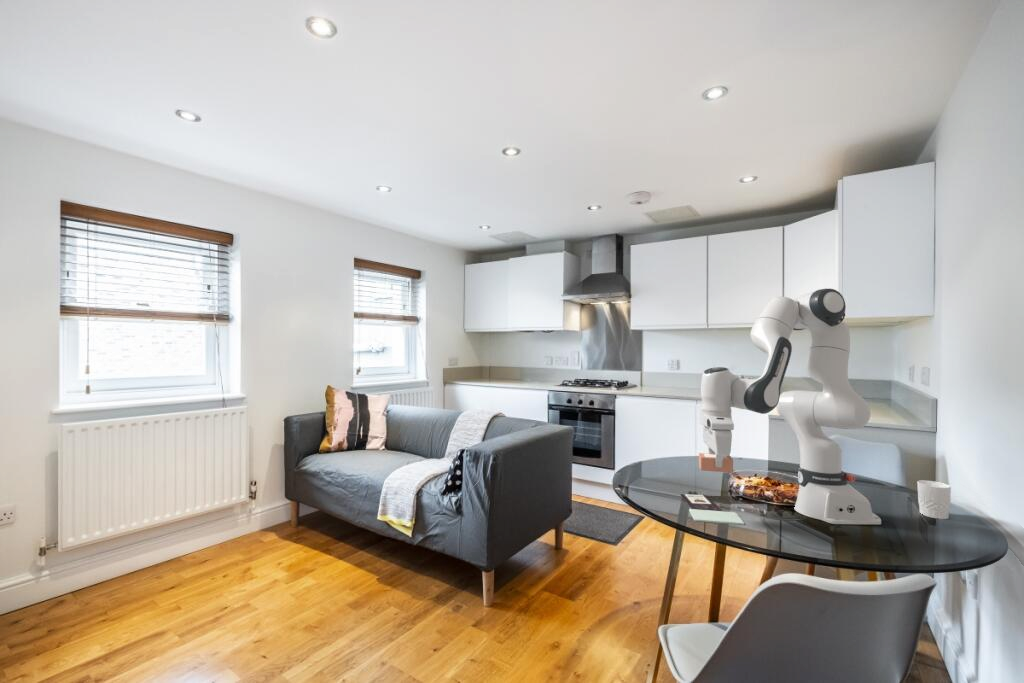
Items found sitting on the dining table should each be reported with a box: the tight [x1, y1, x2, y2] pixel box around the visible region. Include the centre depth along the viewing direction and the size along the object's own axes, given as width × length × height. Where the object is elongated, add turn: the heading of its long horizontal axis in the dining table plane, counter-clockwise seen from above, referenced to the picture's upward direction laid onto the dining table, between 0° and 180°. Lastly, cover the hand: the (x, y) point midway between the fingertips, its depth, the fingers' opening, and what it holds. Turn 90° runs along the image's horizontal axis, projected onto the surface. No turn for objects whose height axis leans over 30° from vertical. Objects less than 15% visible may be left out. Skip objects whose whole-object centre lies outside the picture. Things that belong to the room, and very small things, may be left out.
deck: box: [698, 452, 734, 474], centre depth 142 cm, size 9×6×4 cm, turn 74°
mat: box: [688, 508, 745, 526], centre depth 142 cm, size 14×9×1 cm, turn 79°
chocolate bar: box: [679, 493, 723, 511], centre depth 153 cm, size 9×1×18 cm
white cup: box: [916, 479, 952, 520], centre depth 145 cm, size 8×8×10 cm
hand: (715, 463), depth 142 cm, fingers closed on deck, 6 cm apart
